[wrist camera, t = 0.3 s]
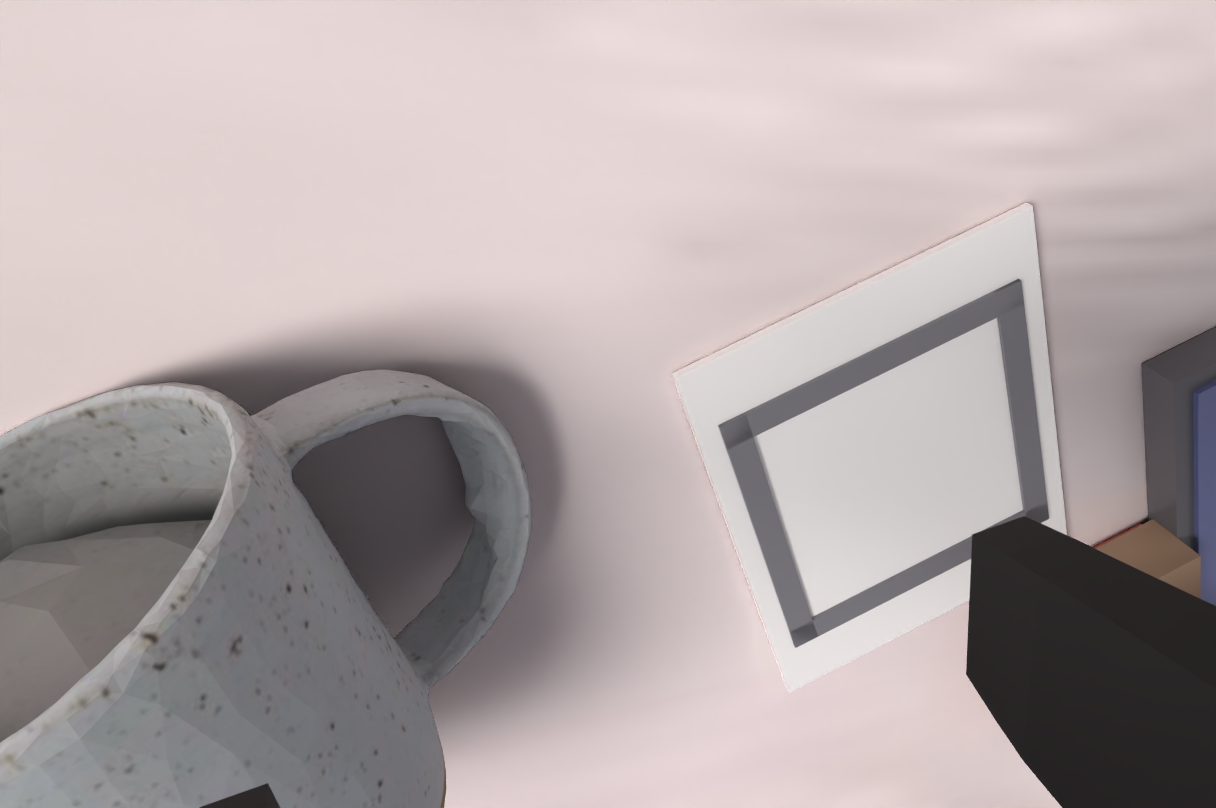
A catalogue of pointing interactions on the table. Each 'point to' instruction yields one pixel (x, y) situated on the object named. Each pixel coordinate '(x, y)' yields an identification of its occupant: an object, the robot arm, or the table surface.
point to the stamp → (1157, 555)
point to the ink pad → (1184, 447)
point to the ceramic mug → (227, 602)
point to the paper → (882, 443)
